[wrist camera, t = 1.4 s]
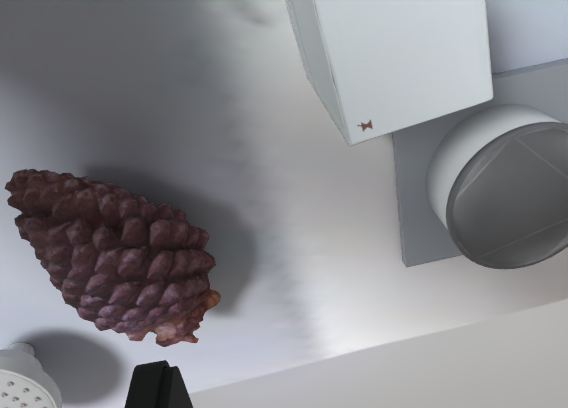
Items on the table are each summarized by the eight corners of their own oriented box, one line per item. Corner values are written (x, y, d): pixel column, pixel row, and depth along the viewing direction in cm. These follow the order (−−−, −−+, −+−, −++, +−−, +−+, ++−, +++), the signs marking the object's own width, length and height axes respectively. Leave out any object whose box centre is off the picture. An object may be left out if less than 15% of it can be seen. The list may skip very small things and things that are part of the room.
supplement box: (408, 48, 34) (497, 105, 23) (305, 80, 34) (345, 152, 23) (390, -70, 30) (487, -69, 19) (275, -32, 30) (307, -10, 20)
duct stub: (389, 96, 35) (419, 125, 30) (591, 53, 35) (655, 74, 30) (402, 260, 43) (427, 306, 38) (568, 223, 43) (616, 264, 38)
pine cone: (-3, 180, 35) (-76, 262, 26) (94, 94, 33) (50, 153, 24) (170, 317, 43) (158, 414, 34) (258, 255, 41) (269, 342, 32)
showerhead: (-1, 357, 34) (78, 438, 39) (33, 290, 40) (98, 367, 45) (-120, 401, 35) (-27, 475, 39) (-68, 328, 41) (7, 400, 46)
